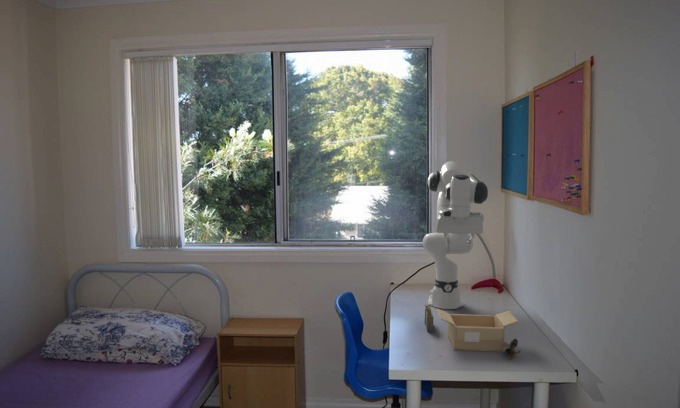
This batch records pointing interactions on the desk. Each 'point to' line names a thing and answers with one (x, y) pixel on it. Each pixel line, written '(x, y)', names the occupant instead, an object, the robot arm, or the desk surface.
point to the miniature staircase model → (428, 319)
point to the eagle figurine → (511, 348)
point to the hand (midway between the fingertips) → (458, 243)
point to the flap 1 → (445, 316)
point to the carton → (476, 333)
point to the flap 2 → (506, 318)
